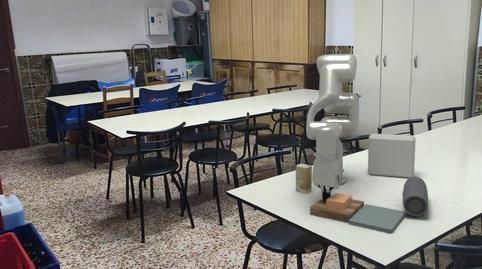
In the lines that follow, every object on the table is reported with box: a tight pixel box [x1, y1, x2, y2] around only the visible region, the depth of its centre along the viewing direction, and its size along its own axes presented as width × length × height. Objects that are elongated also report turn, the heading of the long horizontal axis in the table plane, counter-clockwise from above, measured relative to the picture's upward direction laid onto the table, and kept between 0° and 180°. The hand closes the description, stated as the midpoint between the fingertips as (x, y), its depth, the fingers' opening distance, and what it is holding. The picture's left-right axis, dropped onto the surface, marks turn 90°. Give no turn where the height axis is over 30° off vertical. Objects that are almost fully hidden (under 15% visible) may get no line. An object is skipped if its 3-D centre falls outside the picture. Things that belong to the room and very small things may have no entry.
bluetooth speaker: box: [402, 175, 429, 217], centre depth 169 cm, size 23×9×10 cm, turn 159°
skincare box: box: [295, 163, 313, 195], centre depth 193 cm, size 6×4×12 cm
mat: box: [348, 203, 407, 234], centre depth 161 cm, size 18×16×2 cm
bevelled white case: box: [367, 133, 417, 179], centre depth 208 cm, size 21×8×20 cm, turn 65°
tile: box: [326, 192, 353, 210], centre depth 169 cm, size 9×7×3 cm
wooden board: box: [309, 194, 365, 224], centre depth 170 cm, size 16×16×3 cm
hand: (326, 200), depth 172 cm, fingers closed
